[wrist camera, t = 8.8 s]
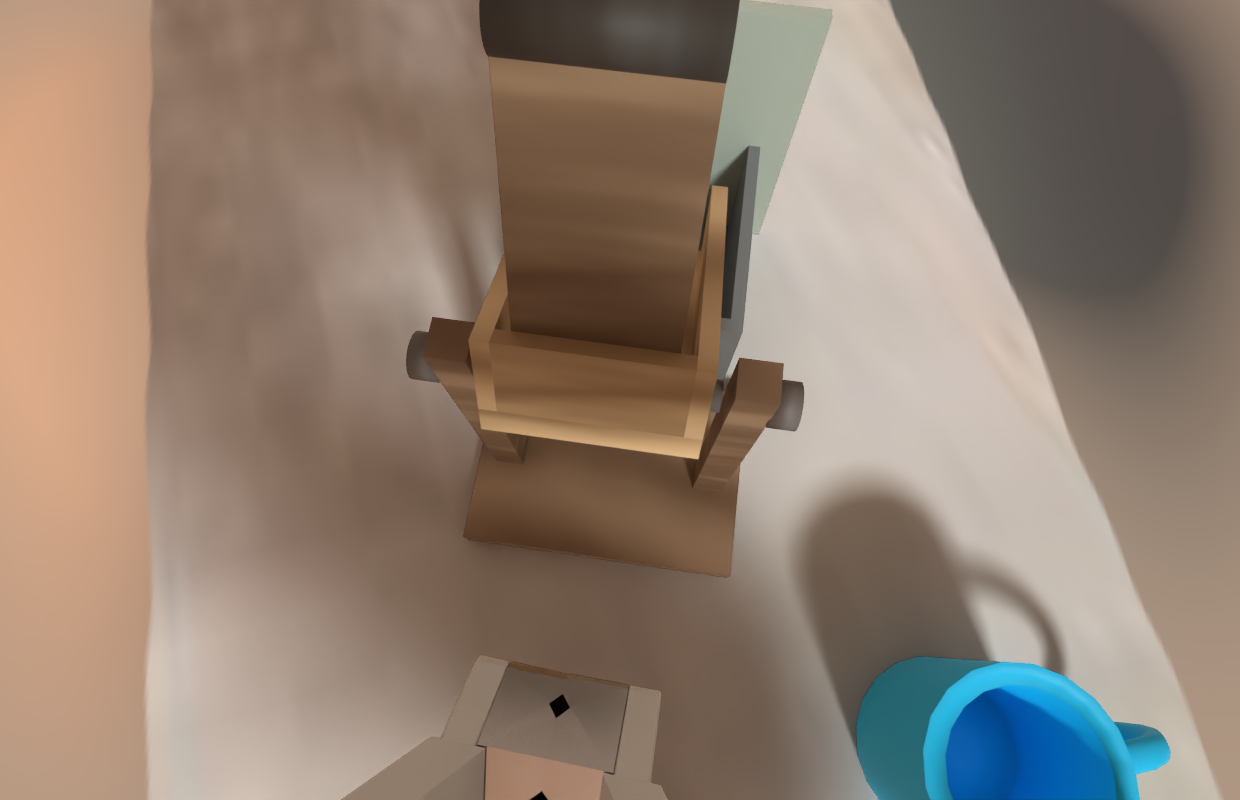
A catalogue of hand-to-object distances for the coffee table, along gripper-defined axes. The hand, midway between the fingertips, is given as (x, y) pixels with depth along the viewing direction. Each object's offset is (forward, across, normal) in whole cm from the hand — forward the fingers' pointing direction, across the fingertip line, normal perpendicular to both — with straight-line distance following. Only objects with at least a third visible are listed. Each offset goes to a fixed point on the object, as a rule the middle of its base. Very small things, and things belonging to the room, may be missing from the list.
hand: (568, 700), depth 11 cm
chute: (+17, -2, -1) cm, 17 cm away
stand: (+25, -2, -11) cm, 28 cm away
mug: (+19, +18, -19) cm, 32 cm away
